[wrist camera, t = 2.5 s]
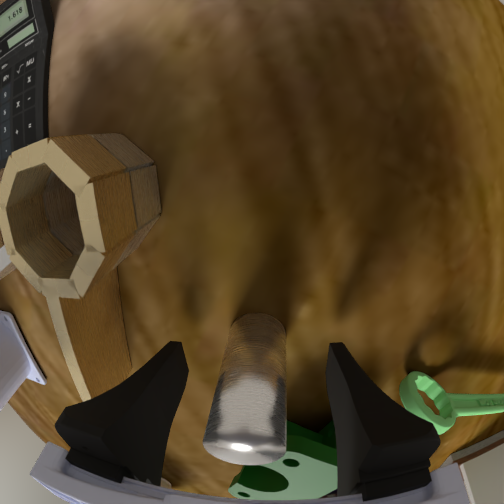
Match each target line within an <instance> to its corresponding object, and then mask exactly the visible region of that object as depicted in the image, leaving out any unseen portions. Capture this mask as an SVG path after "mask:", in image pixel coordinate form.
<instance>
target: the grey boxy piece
mask: <svg viewBox="0 0 504 504" xmlns="http://www.w3.org/2000/svg"><path fill="white" fill-rule="evenodd" d="M455 462H456V463H457V464H458V466H459V469H460V472H461V476H462V479H463V481H465V485H466V488H467V491H468V494H469V498H470V501H471V504H504V430H503V431H501V432H499V433H497V434H495V435H493V436H491V437H489V438H487V439H485V440H483V441H481V442H479V443H476V444H474V445H472V446H470V447H467V448H465V449H463V450H460V451H458V452H455V453H453V454H451V455H450V456H449V457H448V458H447V459H446V461H445V462H444V463H443V464H442V465H441V467H444V466H447V465H450V464H452V463H455ZM441 467H440V468H441Z"/></svg>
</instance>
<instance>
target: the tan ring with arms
mask: <svg viewBox="0 0 504 504" xmlns="http://www.w3.org/2000/svg"><path fill="white" fill-rule="evenodd" d="M153 162H154V161H153V160H152V159H151V158H150V157H149V156H148V155H146V154H145V153H144V152H143V151H142V150H141V149H139V148H138V147H137V146H136V145H135V144H134V143H132V142H131V141H130V140H129V139H128V138H127V137H125V136H124V135H123V134H119V133H105V134H88V135H87V134H86V135H72V136H61V137H51V138H46V139H43V140H40V141H38V142H35V143H33V144H30V145H28V146H26V147H23V148H21V149H19V150H16V151H14V152H12V155H10V156H9V158H8V161H7V164H6V167H5V170H4V173H3V176H2V180H1V183H0V228H1V233H2V237H3V241H4V244H5V245H4V246H3V247H2V248H1V249H0V280H1V279H2V278H3V277H5V276H6V275H8V274H9V273H11V272H12V271H13V270H15V269H16V268H17V269H18V270H19V271H20V272H21V273H22V274H23V276H24V277H25V278H26V279H27V280H28V281H29V282H30V283H31V284H32V286H33V287H34V288H35V289H36V290H37V291H38V292H39V293H41V292H42V294H43V295H44V296H46V299H47V303H48V306H49V310H50V314H51V317H52V321H53V324H54V327H55V331H56V334H57V337H58V340H59V343H60V346H61V349H62V352H63V355H64V357H65V360H66V363H67V365H68V368H69V370H70V373H71V376H72V378H73V380H74V383H75V385H76V387H77V390H78V392H79V394H80V397H81V399H82V401H83V402H84V401H87V400H89V399H92V398H94V397H96V396H99V395H101V394H103V393H104V392H106V391H108V390H110V389H112V388H114V387H115V386H117V385H118V384H120V383H122V382H123V381H125V379H126V378H127V376H128V374H129V372H130V371H131V369H132V366H131V361H130V356H129V351H128V345H127V340H126V334H125V328H124V321H123V315H122V307H121V300H120V292H119V282H118V272H117V265H118V264H120V263H121V262H122V261H123V260H124V259H125V258H126V257H128V256H129V255H130V254H131V253H132V252H133V251H134V250H136V249H137V248H138V247H139V245H140V244H141V242H142V241H143V239H144V238H145V237H146V235H147V234H148V232H149V231H150V230H151V228H152V227H153V225H154V224H155V223H156V221H157V220H158V219H159V217H160V216H161V215H160V214H159V213H161V212H162V211H161V203H160V195H159V187H158V178H157V169H156V165H152V164H153Z"/></svg>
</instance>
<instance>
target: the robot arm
mask: <svg viewBox="0 0 504 504" xmlns="http://www.w3.org/2000/svg"><path fill="white" fill-rule="evenodd" d="M188 372H189V369H188V366H187V362H186V358H185V354H184V351H183V347H182V343H181V342H176V341H170V342H169V343H167V344H166V345H165V346H164V347H163V348H162V349H161V350H160V351H159V352H158V353H157V354H156V355H155V356H154V357H153V358H151V359H150V360H149V361H148V362H147V363H146V364H145V365H144V366H142V367H141V368H140V369H139V370H138V371H136V372H135V373H134V374H133V375H131V376H130V377H129V378H127V379H126V380H125V381H123V382H122V383H120V384H118V385H117V386H115V387H114V388H112V389H110V390H108V391H106V392H104V393H103V394H101V395H99V396H96V397H94V398H92V399H89V400H87V401H84V402H81V403H78V404H75V405H72V406H68V407H66V408H65V409H64V411H63V412H62V414H61V415H60V417H59V418H58V420H57V422H56V423H55V428H56V430H57V432H58V433H59V435H60V436H61V437H62V438H63V439H64V440H65V442H66V443H67V444H68V445H69V446H70V447H71V449H70V451H69V452H68V451H67V450H65V449H64V448H62V447H60V446H58V445H56V444H53V443H51V442H47V444H46V446H45V447H44V449H43V451H42V453H41V454H40V456H39V458H38V459H37V461H36V463H35V465H34V467H33V468H32V470H31V472H30V475H31V476H32V477H33V478H34V479H35V480H37V481H38V482H39V483H40V484H42V485H43V486H44V487H45V488H47V489H48V490H49V491H51V492H52V493H53V494H55V495H56V496H58V497H60V498H62V499H63V500H65V501H67V502H69V503H71V504H469V503H470V502H469V499H468V495H467V492H466V489H465V485H464V482H463V479H462V476H461V472H460V469H459V466H458V464H457V463H456V462H455V463H452V464H450V465H447V466H444V467H441V468H438V469H436V470H434V471H432V472H429V469H428V467H430V461H429V458H430V457H431V456H432V455H433V453H434V452H435V451H436V450H437V448H438V447H439V445H440V438H439V435H438V433H437V430H436V428H435V427H434V425H433V423H431V422H429V421H427V420H425V419H422V418H420V417H418V416H416V415H415V414H413V413H411V412H410V411H408V410H406V409H405V408H403V407H402V406H400V405H399V404H398V403H396V402H395V401H393V400H392V399H391V398H390V397H389V396H387V395H386V394H385V393H384V392H383V391H382V390H381V389H380V388H379V387H378V386H377V385H376V384H375V383H374V382H373V381H372V380H371V379H370V378H369V377H368V376H367V374H366V373H365V372H364V371H363V370H362V368H361V367H360V366H359V365H358V363H357V362H356V361H355V359H354V358H353V357H352V355H351V354H350V352H349V351H348V349H347V348H346V346H345V345H344V344H343V343H342V342H338V343H330V345H329V352H328V360H327V366H326V384H327V392H328V397H329V402H330V407H331V412H332V417H333V421H334V426H335V433H336V447H337V477H338V483H337V497H331V498H320V499H306V500H250V499H235V498H225V497H216V496H208V495H201V494H195V493H189V492H183V491H178V490H173V489H168V488H164V487H160V486H161V476H162V469H163V462H164V456H165V451H166V446H167V441H168V436H169V432H170V428H171V425H172V422H173V419H174V416H175V414H176V411H177V408H178V406H179V403H180V400H181V398H182V395H183V392H184V389H185V386H186V382H187V377H188ZM26 378H28V379H31V380H33V381H35V382H38V383H41V384H43V385H45V384H46V383H47V381H46V379H45V377H44V376H43V374H42V372H41V370H40V369H39V367H38V365H37V363H36V362H35V360H34V358H33V356H32V354H31V352H30V350H29V349H28V347H27V345H26V343H25V341H24V339H23V337H22V335H21V332H20V330H19V328H18V326H17V324H16V322H15V319H14V317H13V316H12V314H11V313H9V312H5V311H1V310H0V411H1V410H2V408H3V407H4V406H5V404H6V403H7V402H8V400H9V399H10V398H11V397H12V395H13V394H14V393H15V391H16V390H17V389H18V388H19V386H20V385H21V384H22V383H23V381H24V380H25V379H26Z"/></svg>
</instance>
